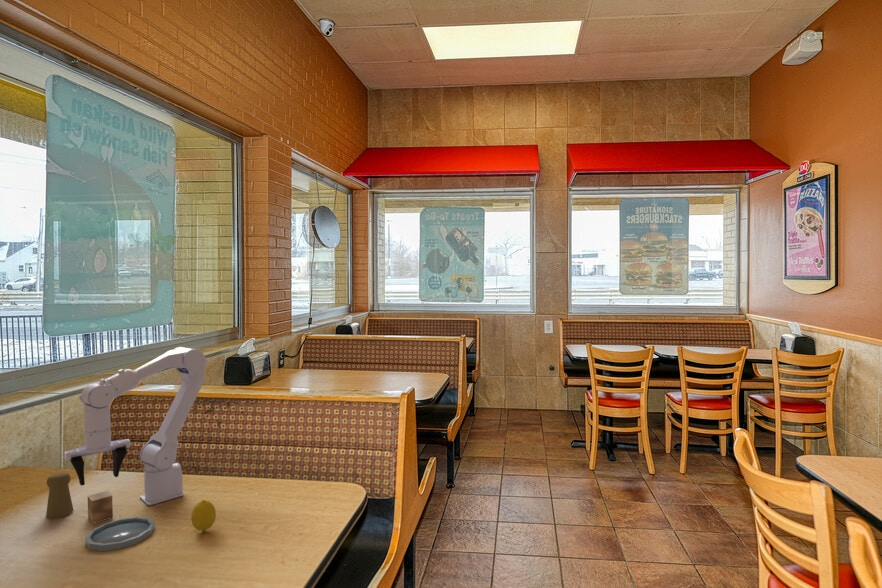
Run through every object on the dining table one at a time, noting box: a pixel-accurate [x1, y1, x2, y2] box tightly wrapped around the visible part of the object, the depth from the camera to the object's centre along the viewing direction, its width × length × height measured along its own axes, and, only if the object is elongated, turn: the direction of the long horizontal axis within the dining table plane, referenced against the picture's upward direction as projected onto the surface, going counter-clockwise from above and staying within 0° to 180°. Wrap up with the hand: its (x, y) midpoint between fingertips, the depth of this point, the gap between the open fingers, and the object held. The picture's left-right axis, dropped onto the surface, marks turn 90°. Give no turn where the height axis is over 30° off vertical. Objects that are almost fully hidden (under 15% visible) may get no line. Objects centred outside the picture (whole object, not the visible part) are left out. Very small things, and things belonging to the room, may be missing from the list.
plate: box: [84, 516, 155, 552], centre depth 128 cm, size 14×14×1 cm
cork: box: [45, 471, 74, 520], centre depth 140 cm, size 6×6×11 cm
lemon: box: [190, 499, 217, 533], centre depth 129 cm, size 6×6×8 cm
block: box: [87, 490, 114, 524], centre depth 137 cm, size 5×5×6 cm
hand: (99, 480), depth 137 cm, fingers open, 7 cm apart
